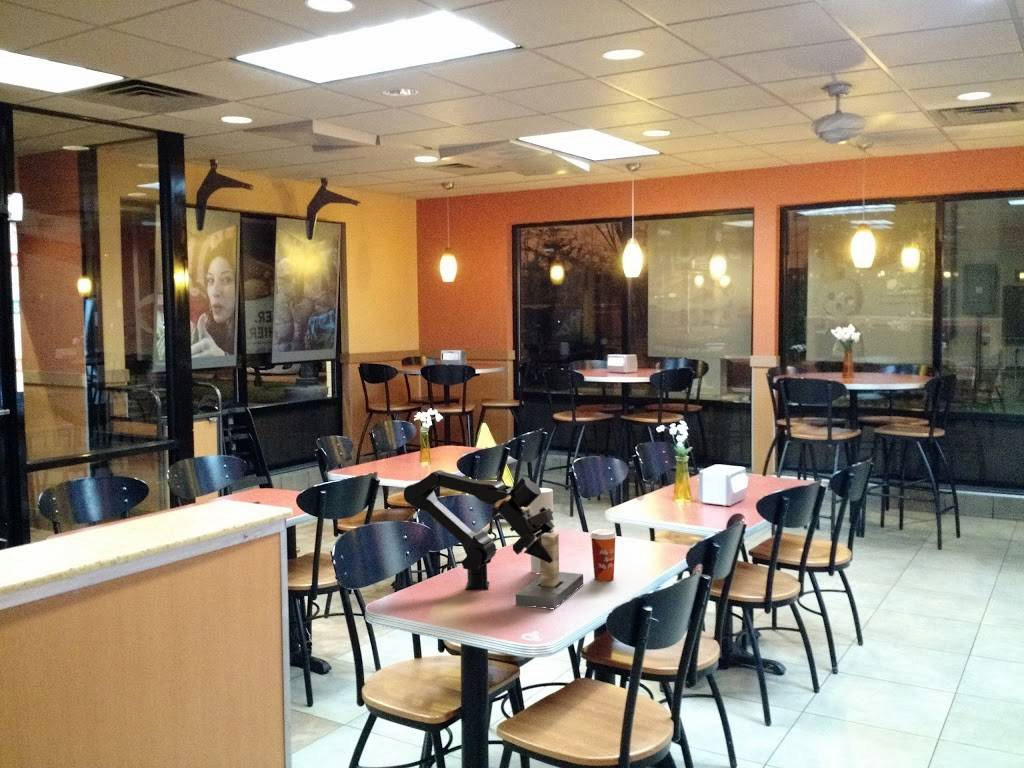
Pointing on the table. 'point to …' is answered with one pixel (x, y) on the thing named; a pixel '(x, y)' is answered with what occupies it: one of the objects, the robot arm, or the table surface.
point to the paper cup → (603, 554)
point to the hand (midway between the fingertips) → (554, 559)
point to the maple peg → (551, 569)
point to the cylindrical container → (535, 507)
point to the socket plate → (549, 591)
